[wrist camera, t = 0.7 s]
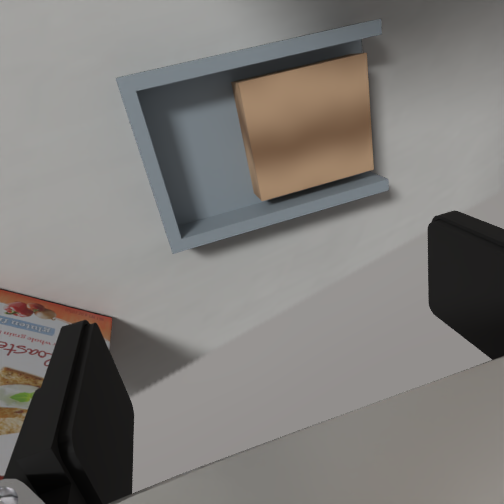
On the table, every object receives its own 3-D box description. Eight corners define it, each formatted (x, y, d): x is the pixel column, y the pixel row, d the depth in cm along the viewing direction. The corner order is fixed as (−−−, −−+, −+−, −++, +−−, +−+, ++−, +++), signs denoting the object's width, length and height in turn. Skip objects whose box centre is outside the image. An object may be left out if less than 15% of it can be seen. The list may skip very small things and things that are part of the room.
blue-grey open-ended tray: (117, 77, 29) (115, 78, 26) (357, 23, 32) (381, 18, 29) (169, 237, 35) (172, 253, 32) (367, 180, 38) (388, 190, 35)
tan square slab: (231, 82, 31) (238, 83, 28) (350, 53, 32) (366, 52, 30) (253, 192, 35) (262, 201, 32) (359, 163, 36) (373, 169, 34)
